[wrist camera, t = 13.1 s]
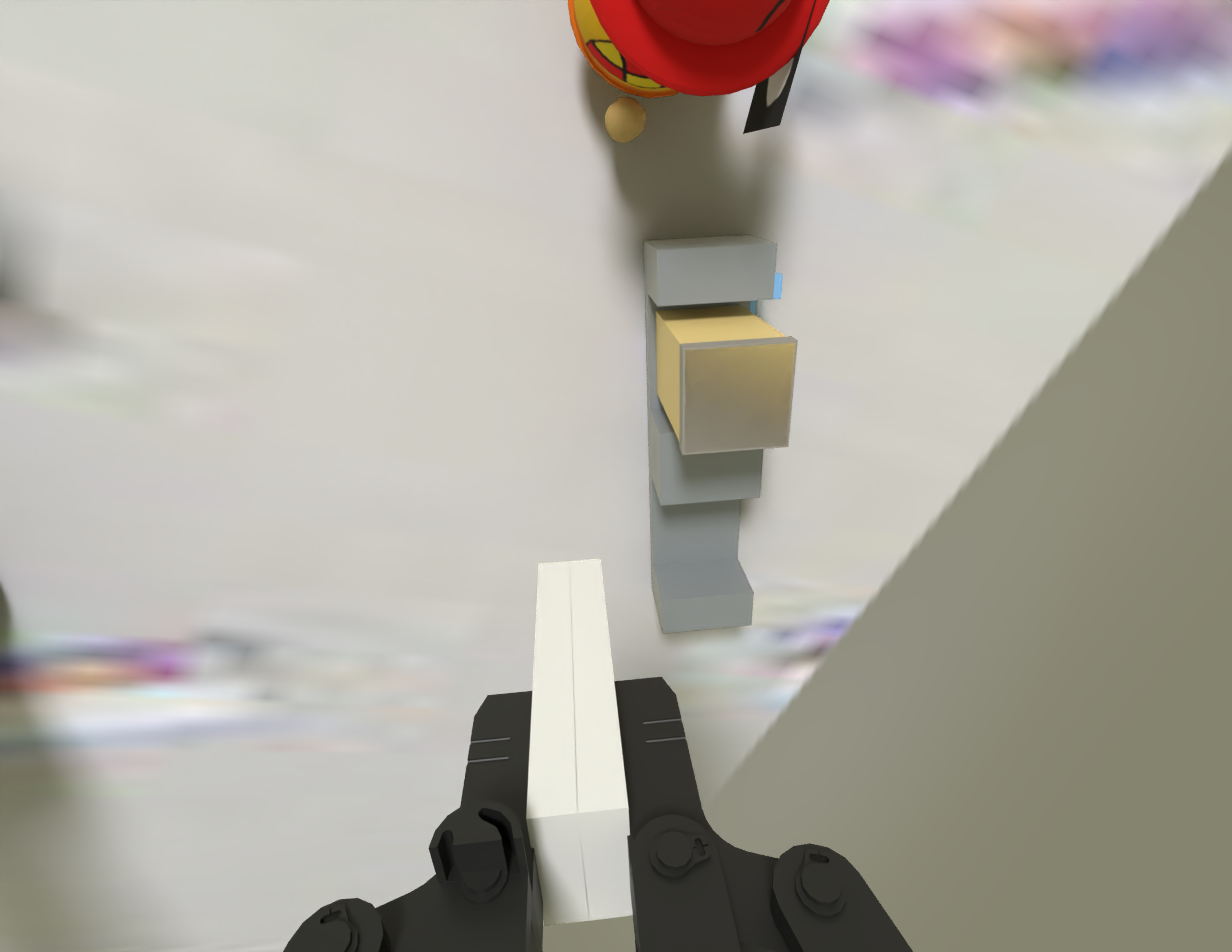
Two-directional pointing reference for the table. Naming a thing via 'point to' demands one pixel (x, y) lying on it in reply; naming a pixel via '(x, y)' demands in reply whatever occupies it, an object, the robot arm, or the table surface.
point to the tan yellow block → (724, 379)
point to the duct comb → (709, 482)
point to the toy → (694, 51)
